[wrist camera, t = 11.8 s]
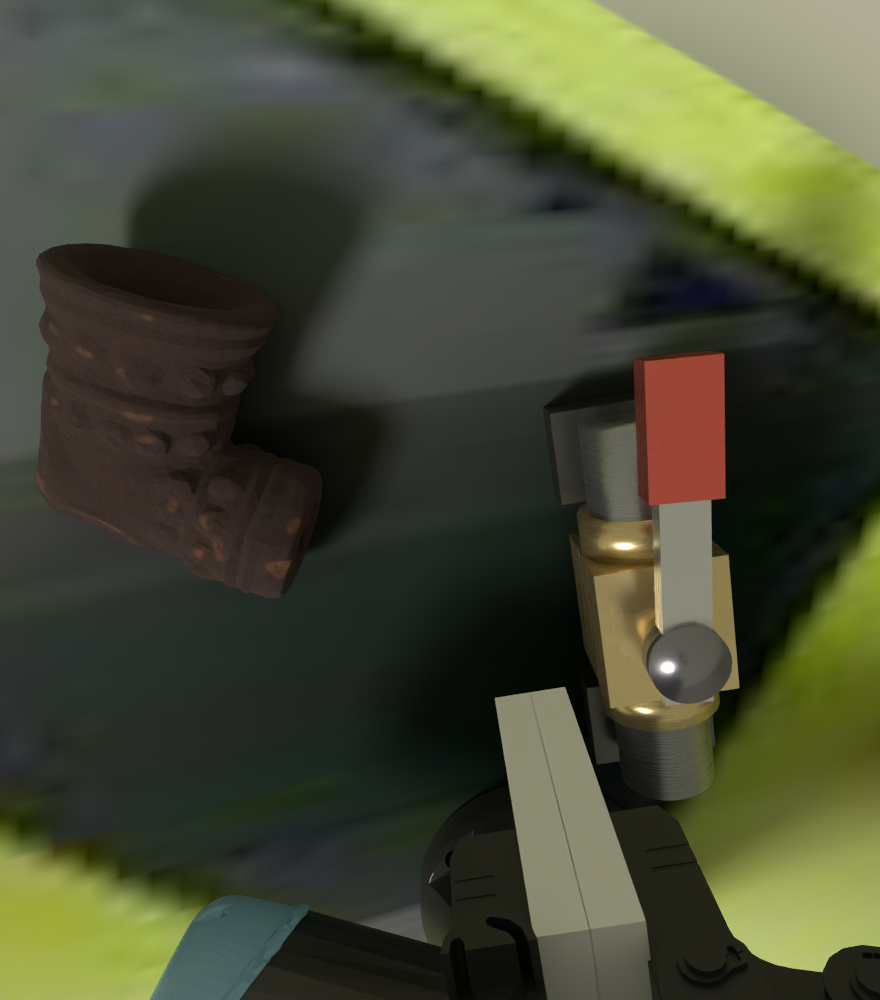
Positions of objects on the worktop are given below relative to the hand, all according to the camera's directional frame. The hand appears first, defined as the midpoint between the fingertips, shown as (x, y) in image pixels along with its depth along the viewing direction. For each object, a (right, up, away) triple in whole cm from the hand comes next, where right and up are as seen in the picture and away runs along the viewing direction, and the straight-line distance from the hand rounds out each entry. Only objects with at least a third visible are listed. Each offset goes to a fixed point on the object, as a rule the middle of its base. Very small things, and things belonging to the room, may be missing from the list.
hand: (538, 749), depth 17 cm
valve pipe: (+9, +1, +30) cm, 32 cm away
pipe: (-15, +10, +28) cm, 33 cm away
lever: (+8, +4, +19) cm, 21 cm away
